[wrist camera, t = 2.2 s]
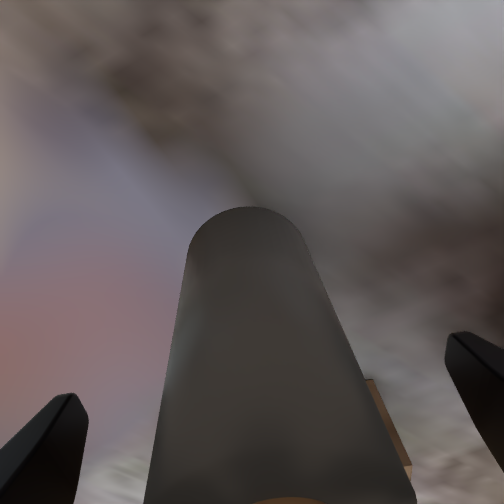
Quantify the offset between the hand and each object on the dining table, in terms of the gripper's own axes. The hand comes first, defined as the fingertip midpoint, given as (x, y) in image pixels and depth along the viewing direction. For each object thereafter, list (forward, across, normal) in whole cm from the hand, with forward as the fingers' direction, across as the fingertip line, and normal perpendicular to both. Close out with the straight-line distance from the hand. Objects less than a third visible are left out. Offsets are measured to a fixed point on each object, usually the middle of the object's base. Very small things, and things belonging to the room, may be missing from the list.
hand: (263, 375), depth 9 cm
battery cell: (+5, 0, 0) cm, 5 cm away
